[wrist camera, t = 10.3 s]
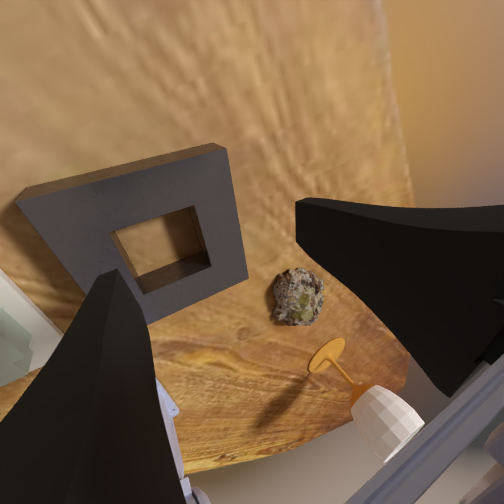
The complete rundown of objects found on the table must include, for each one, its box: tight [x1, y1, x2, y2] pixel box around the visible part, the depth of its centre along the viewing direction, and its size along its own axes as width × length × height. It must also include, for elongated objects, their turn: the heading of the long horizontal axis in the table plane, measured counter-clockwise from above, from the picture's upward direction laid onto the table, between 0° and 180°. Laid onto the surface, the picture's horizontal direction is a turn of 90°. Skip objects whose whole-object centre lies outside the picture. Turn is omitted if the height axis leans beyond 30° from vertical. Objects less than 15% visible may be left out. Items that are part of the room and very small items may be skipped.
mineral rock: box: [273, 268, 324, 326], centre depth 31 cm, size 11×4×8 cm
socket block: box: [15, 143, 249, 325], centre depth 18 cm, size 12×12×2 cm
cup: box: [308, 338, 424, 463], centre depth 41 cm, size 9×9×16 cm
